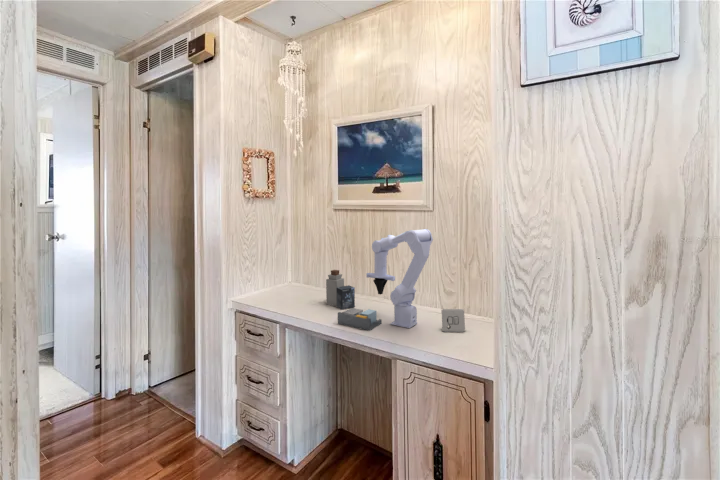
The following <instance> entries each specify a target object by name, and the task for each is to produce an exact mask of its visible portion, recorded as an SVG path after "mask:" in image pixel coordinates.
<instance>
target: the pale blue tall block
mask: <svg viewBox="0 0 720 480" xmlns="http://www.w3.org/2000/svg"><path fill="white" fill-rule="evenodd" d="M377 313H378V312H377V310H376V309H370V308H368V309H366V310H365V311H364V310H363V312H362V313H360V315H362V316H367V317H368V318H371V323H373V322H375V321H376V320H378V319H377V317H378V316H377Z"/></svg>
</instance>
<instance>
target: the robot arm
mask: <svg viewBox="0 0 720 480" xmlns="http://www.w3.org/2000/svg"><path fill="white" fill-rule="evenodd" d="M432 235H433V234H432V232H431V231H430V229H428V228H424V229H409V230H406V231H404V232H402V233H400V234H397V235H392V234H388V235H386V237H382V238H380V239H379V240H377V239H376V240H374V241H373V242H372V244H371V249H372V252H374V271H373V272H367V273H365V274H366V275H365V276H366V278H370V279H371V278H372V279H373V282H374V285H375V287H376V291H377V294H378V295H379V296H381V295H383V294H384V289H385V287H386V284H387V282H388V281H391V282H394V281H396V276H395V275H391V274H388V273H387V269H388V268H387V266H388V264H387V263H388V260H387V259H388V254H389V251H390V250H392V249H395V248H397V247H398V246H399V244H401V243H404V242H405V243H407V245H408V246H409V249H410V250H411V252H412V253H413V257H412V259H411V262H410V264H409V266H408V268H407V270H406V273H405V274H404V277H403V279H402V281H401V283H399V284H398V285H397V286H396V287H395V288H394V290H392V291H391V292H390V294H389V295H390V301H391V303H392V304H393V305H394V311H393V312H394V314H393V315H394V316H393V317H394V321H392V322H390V325H391V326H398V327H402V328H406V329H411V328H412V327H414V326H415V325H417V324H418V320H417V318H418V315H417V314H418V310H417V306H415V305H413V301H414V300H415V295H416V292H417V290H416V288H415V285H416V283H417V282H418V279H419V277H420V275H421V273H422V271H423V270H424V269H423V268H424V267H425V265H426V263H427V261H428V258H429V256H430V251H431V245H432V243H433V240H434V237H433V236H432Z"/></svg>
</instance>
